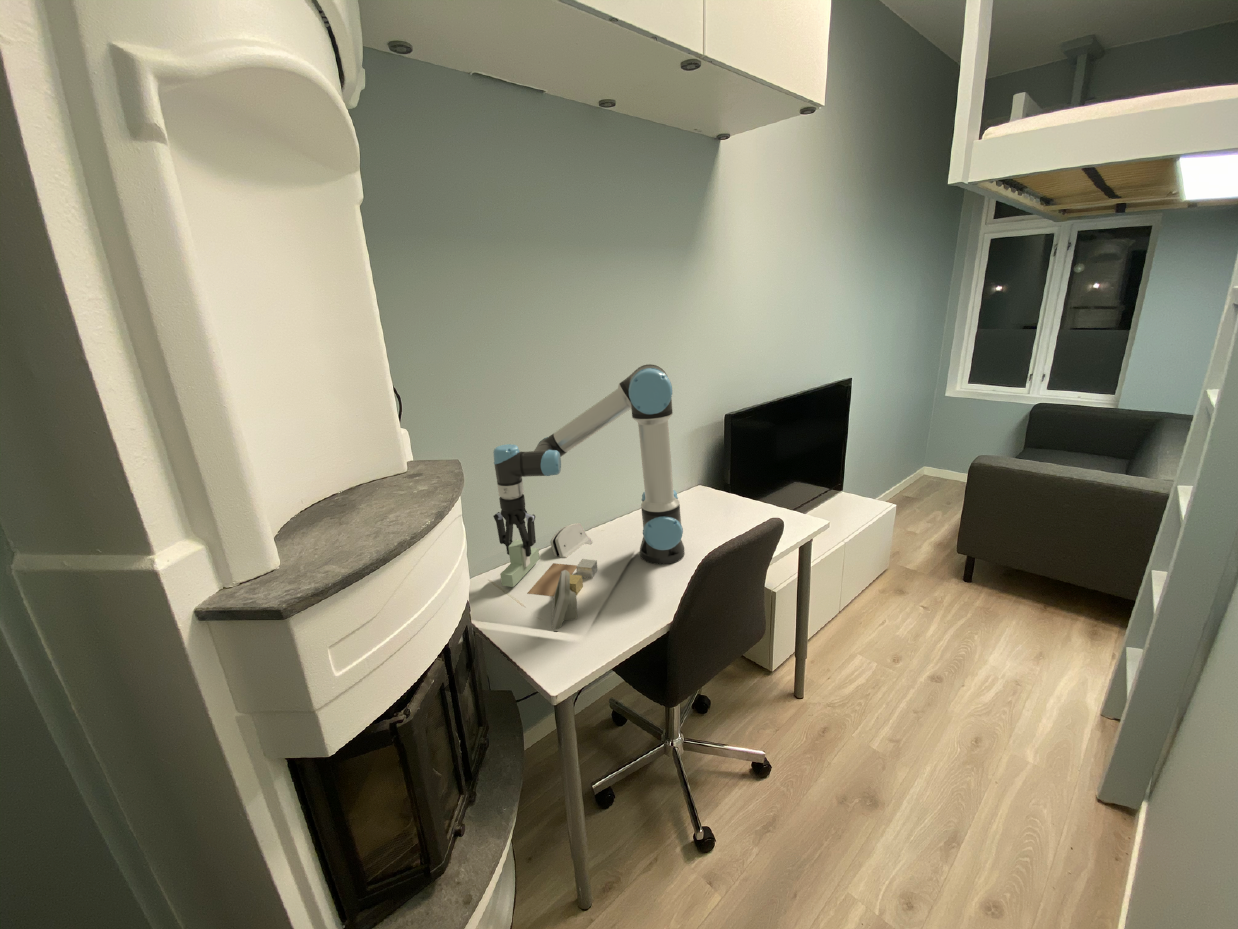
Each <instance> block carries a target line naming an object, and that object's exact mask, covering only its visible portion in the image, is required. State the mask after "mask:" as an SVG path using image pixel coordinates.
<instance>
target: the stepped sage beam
mask: <svg viewBox="0 0 1238 929" xmlns="http://www.w3.org/2000/svg"><path fill="white" fill-rule="evenodd" d="M523 547H524V545H523V542H522V539H517V538H516V539H515V540H513V542H512V544H510V545H509V546H508V548H509V555H510V556H509V555H508V556H509V561H510V562H511V563H510V564H509V565H507V567H506V568H505V569H504V570H502V572H501V573H500V582H501V586H502V587H509V588H510V587H511V588H514V587H515V586H516V585H517V584H518V583H519V582H520V581H521V580H522V579H523V578H524V576H525V575H526V574H528V572H530V570H531V569H532V568H533V567H534V566H535V565H536V564H537V563H538V562H539V561H540V560H541V558H540V551H539V550H540V549H539V547H531V555H530V564H529V565H528V566H527V567H524V561H523V553H522V548H523Z"/></svg>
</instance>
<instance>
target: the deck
mask: <svg viewBox="0 0 1238 929" xmlns="http://www.w3.org/2000/svg"><path fill="white" fill-rule="evenodd" d="M577 565H578V564H577ZM577 565H576V564H564V563H552V564H551V565H550V566H549V567H548V569H547V570H546V571H545V572H544V573H543V575H542V576H541V577H540V578H539V579H538V580H537V581H536V582H535V584H533V586H532V587H531V588H530V589H529V590H528V592H526V593H527V594H528V595H536V596H537V595H538V596H545V597H553V598H554V595H555V591H556V588H557V585H558V581H559V578H560V574H561V572H562V571H564V570H567V571H568V572H569V573H570V574H571V575H573V573H574V572H575V571H576V570H577V568H576V566H577Z"/></svg>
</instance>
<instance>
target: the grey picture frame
mask: <svg viewBox="0 0 1238 929" xmlns="http://www.w3.org/2000/svg"><path fill="white" fill-rule="evenodd" d="M577 599H578V598H577V595H576V594H575V592H572V591H571V590H570V573H569V572H568V571H567V570H564V571H562V572H561V574H560V578H559V581H558V585H557V588H556V591H555V595H554V597H553V599H552V613H551V614H552V615H551V616H552V617H551V629H553V632H554V633H557V632H559V631H556V630H558V629H562V626H563V623H564V621H570V620H571V621H573V620H577V619H578V602H577Z"/></svg>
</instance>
